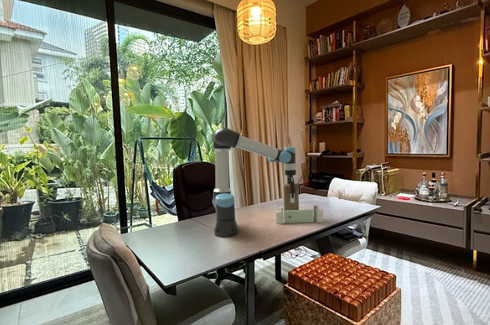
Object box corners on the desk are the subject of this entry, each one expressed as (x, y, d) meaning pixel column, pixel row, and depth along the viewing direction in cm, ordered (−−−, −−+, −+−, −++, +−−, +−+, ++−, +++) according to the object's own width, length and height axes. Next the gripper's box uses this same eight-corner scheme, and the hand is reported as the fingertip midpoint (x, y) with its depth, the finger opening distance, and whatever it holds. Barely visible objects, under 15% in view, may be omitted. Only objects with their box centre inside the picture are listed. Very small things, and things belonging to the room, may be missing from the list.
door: (312, 221, 177) (312, 209, 176) (313, 222, 174) (313, 210, 173) (284, 222, 177) (283, 210, 176) (284, 223, 174) (284, 211, 174)
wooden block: (298, 214, 179) (298, 185, 178) (284, 214, 181) (283, 185, 180) (298, 210, 189) (298, 183, 188) (284, 210, 191) (284, 183, 190)
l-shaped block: (276, 223, 176) (275, 207, 175) (276, 223, 178) (275, 206, 177) (323, 222, 175) (322, 205, 174) (322, 221, 177) (321, 205, 176)
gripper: (298, 171, 172) (299, 204, 173) (292, 167, 195) (293, 197, 196) (287, 171, 172) (288, 204, 173) (282, 168, 195) (283, 197, 196)
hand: (291, 200), depth 185 cm, fingers closed on wooden block, 11 cm apart
